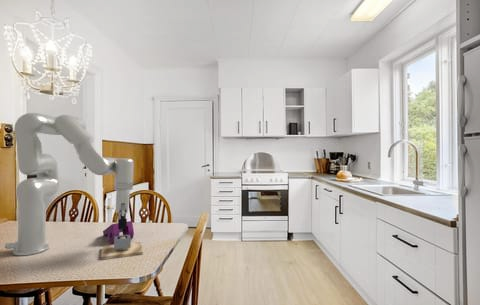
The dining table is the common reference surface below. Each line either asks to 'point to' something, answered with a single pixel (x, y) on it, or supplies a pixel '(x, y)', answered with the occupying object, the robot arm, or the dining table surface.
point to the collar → (122, 242)
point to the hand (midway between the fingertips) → (122, 225)
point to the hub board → (121, 251)
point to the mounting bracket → (118, 231)
